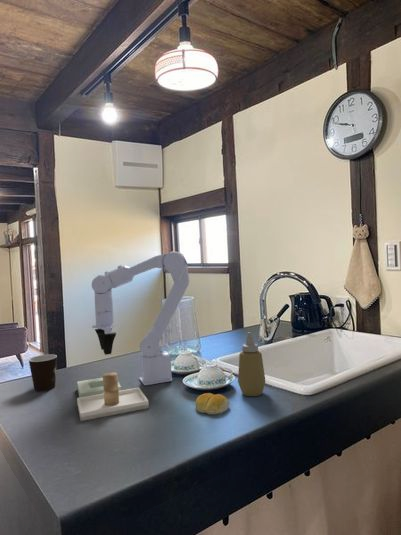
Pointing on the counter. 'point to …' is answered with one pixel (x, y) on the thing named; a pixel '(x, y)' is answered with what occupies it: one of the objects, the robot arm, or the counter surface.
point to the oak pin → (110, 388)
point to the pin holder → (92, 387)
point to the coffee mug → (43, 372)
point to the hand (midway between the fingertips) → (106, 351)
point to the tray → (97, 408)
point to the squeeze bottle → (251, 369)
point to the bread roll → (212, 403)
